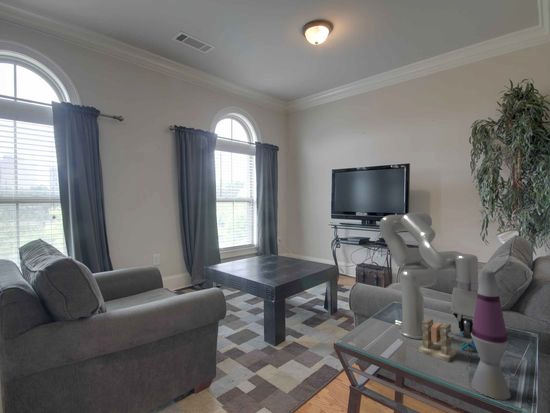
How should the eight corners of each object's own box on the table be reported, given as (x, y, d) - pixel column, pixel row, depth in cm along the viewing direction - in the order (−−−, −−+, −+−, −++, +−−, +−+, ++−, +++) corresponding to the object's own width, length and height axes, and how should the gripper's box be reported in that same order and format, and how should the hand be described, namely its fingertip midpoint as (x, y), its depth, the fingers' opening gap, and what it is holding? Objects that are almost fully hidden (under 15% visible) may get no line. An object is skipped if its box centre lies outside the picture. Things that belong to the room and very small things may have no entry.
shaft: (421, 331, 126) (421, 309, 126) (424, 328, 128) (424, 307, 128) (471, 345, 112) (471, 321, 112) (474, 343, 114) (473, 319, 114)
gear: (485, 355, 117) (464, 333, 121) (473, 363, 118) (452, 342, 122) (481, 347, 127) (461, 327, 131) (469, 355, 128) (450, 335, 132)
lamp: (516, 392, 96) (513, 271, 96) (502, 404, 90) (499, 276, 90) (479, 376, 105) (477, 266, 105) (465, 386, 99) (462, 270, 100)
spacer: (431, 341, 122) (431, 326, 122) (437, 336, 126) (436, 322, 126) (436, 343, 120) (436, 327, 120) (442, 338, 124) (441, 323, 124)
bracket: (417, 351, 124) (416, 322, 124) (426, 343, 131) (426, 315, 131) (448, 362, 115) (447, 330, 115) (457, 353, 122) (456, 323, 122)
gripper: (440, 283, 118) (441, 328, 118) (489, 292, 106) (490, 342, 106) (447, 280, 123) (448, 323, 123) (494, 287, 111) (495, 336, 111)
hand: (467, 331), depth 114 cm, fingers closed on shaft, 3 cm apart
